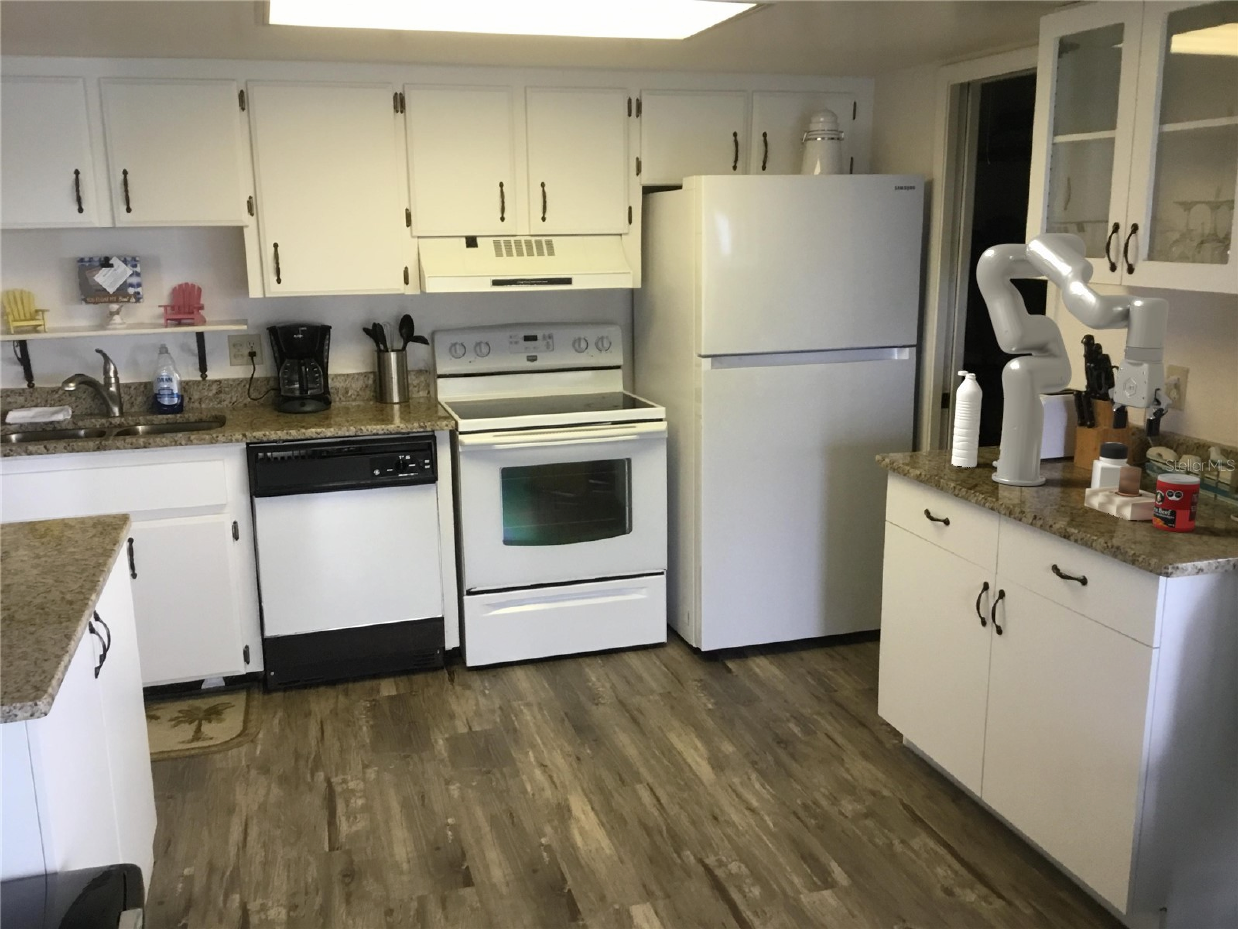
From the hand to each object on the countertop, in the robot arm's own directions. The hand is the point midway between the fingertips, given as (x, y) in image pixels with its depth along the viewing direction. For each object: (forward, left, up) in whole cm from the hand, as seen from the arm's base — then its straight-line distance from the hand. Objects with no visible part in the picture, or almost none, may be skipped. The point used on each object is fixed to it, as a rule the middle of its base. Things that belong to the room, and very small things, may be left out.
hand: (1135, 432), depth 228 cm
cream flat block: (0, 0, -18) cm, 18 cm away
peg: (0, 0, -18) cm, 18 cm away
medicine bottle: (-16, +10, -18) cm, 26 cm away
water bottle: (-53, -6, -18) cm, 56 cm away
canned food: (+14, 0, -18) cm, 23 cm away
